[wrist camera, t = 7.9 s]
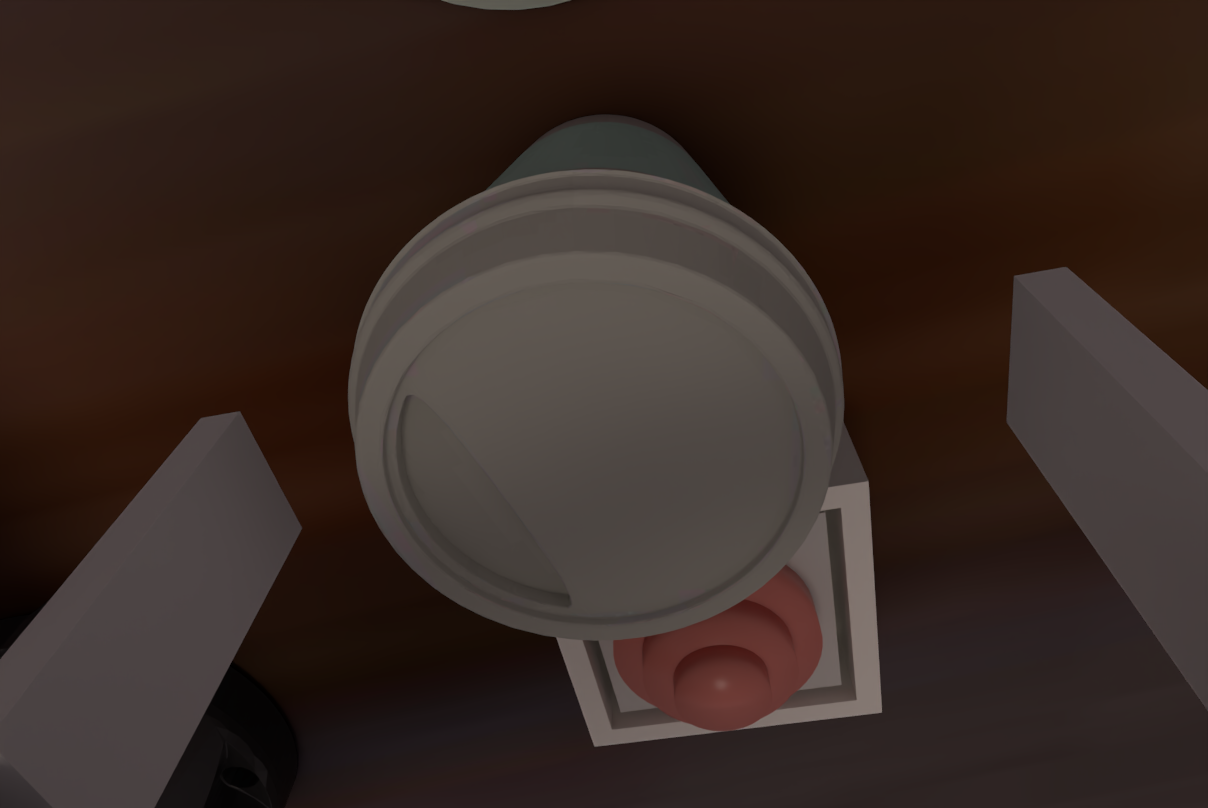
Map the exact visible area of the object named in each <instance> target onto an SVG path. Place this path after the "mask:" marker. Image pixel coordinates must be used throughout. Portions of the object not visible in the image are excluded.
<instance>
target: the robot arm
mask: <svg viewBox="0 0 1208 808" xmlns="http://www.w3.org/2000/svg"><path fill="white" fill-rule="evenodd" d="M1007 423H1008V425H1009V426H1010V428H1011V429H1012V431H1013V432H1014V433H1015V435H1016V436H1017V438H1018V439H1019V441H1020V442H1021V443H1022V445H1023V446H1024V448H1025V449H1026V451H1027V452H1028V454H1029V455H1030V456H1031V458H1032V459H1033V461H1034V462H1035V464H1036V465H1037V466H1038V468H1039V469H1040V471H1041V472H1042V474H1043V475H1044V477H1045V478H1046V479H1047V481H1048V482H1049V484H1050V485H1051V487H1052V488H1053V489H1054V491H1055V492H1056V494H1057V495H1058V497H1059V498H1060V499H1061V501H1062V502H1063V504H1064V505H1065V507H1066V508H1067V510H1068V511H1069V512H1070V514H1071V515H1072V517H1073V518H1074V520H1075V521H1076V522H1077V524H1078V525H1079V527H1080V528H1081V530H1082V531H1083V532H1084V534H1085V535H1086V537H1087V538H1088V540H1089V541H1090V543H1091V544H1092V545H1093V547H1094V548H1095V550H1096V551H1097V553H1098V554H1099V555H1100V557H1101V558H1102V560H1103V561H1104V563H1105V564H1106V565H1107V567H1108V568H1109V570H1110V571H1111V573H1112V574H1113V576H1114V577H1115V578H1116V580H1117V581H1118V583H1119V584H1120V586H1121V587H1122V588H1123V590H1124V591H1125V593H1126V594H1127V596H1128V597H1129V599H1130V600H1131V601H1132V603H1133V604H1134V606H1135V607H1136V609H1137V610H1138V611H1139V613H1140V614H1141V616H1142V617H1143V619H1144V620H1145V621H1146V623H1147V624H1148V626H1149V627H1150V629H1151V630H1152V632H1153V633H1154V634H1155V636H1156V637H1157V639H1158V640H1159V642H1160V643H1161V644H1162V646H1163V647H1164V649H1165V650H1166V652H1167V653H1168V654H1169V656H1170V657H1171V659H1172V660H1173V662H1174V663H1175V665H1176V666H1177V667H1178V669H1179V670H1180V672H1181V673H1182V675H1183V676H1184V677H1185V679H1186V680H1187V682H1188V683H1189V685H1190V686H1191V687H1192V689H1193V690H1194V692H1195V693H1196V695H1197V696H1198V698H1199V699H1200V700H1201V702H1202V703H1203V705H1204V706H1205V708H1206V709H1207V710H1208V390H1207V389H1206V388H1205V387H1203V386H1202V385H1201V384H1200V383H1199V382H1198V381H1197V380H1195V379H1194V378H1193V377H1192V376H1191V375H1190V374H1188V373H1187V372H1186V371H1185V370H1184V369H1183V368H1182V367H1180V366H1179V365H1178V364H1177V363H1176V362H1175V361H1174V360H1172V359H1171V358H1170V357H1169V356H1168V355H1167V354H1166V353H1164V352H1163V351H1162V350H1161V349H1160V348H1159V347H1158V346H1156V345H1155V344H1154V343H1153V342H1152V341H1151V340H1150V339H1148V338H1147V337H1146V336H1145V335H1144V334H1143V333H1142V332H1140V331H1139V330H1138V329H1137V328H1136V327H1135V326H1133V325H1132V324H1131V323H1130V322H1129V321H1128V320H1127V319H1125V318H1124V317H1123V316H1122V315H1121V314H1120V313H1119V312H1117V311H1116V310H1115V309H1114V308H1113V307H1112V306H1111V305H1109V304H1108V303H1107V302H1106V301H1105V300H1104V299H1103V298H1101V297H1100V296H1099V295H1098V294H1097V293H1096V292H1095V291H1093V290H1092V289H1091V288H1090V287H1089V286H1088V285H1087V284H1085V283H1084V282H1083V281H1082V280H1081V279H1080V278H1079V277H1077V276H1076V275H1075V274H1074V273H1073V272H1072V271H1070V270H1069V269H1068V268H1067V267H1063V268H1057V269H1051V270H1046V271H1040V272H1034V273H1028V274H1023V275H1017V276H1014V287H1013V306H1012V326H1011V346H1010V365H1009V385H1008V404H1007ZM301 530H302V527H301V525H300V523H299V521H298V520H297V518H296V516H295V514H294V512H293V510H292V508H291V506H290V505H289V503H288V501H287V499H286V497H285V495H284V493H283V491H282V490H281V488H280V486H279V484H278V482H277V480H276V478H275V476H274V475H273V473H272V471H271V469H270V467H269V465H268V463H267V461H266V459H265V458H264V456H263V454H262V452H261V450H260V448H259V446H258V444H257V443H256V441H255V439H254V437H253V435H252V433H251V431H250V429H249V428H248V426H247V424H246V422H245V420H244V418H243V416H242V414H241V413H240V411H239V412H233V413H228V414H222V415H216V416H210V417H205V418H201V419H200V420H199V421H198V422H197V423H196V425H195V426H194V427H193V428H192V429H191V431H190V432H189V433H188V434H187V435H186V437H185V438H184V439H183V440H182V441H181V443H180V444H179V445H178V446H177V447H176V449H175V450H174V451H173V452H172V453H171V455H170V456H169V457H168V458H167V459H166V461H165V462H164V463H163V464H162V465H161V467H160V468H159V469H158V470H157V471H156V473H155V474H154V475H153V476H152V477H151V479H150V480H149V481H148V482H147V483H146V485H145V486H144V487H143V488H142V489H141V491H140V492H139V493H138V494H137V495H136V497H135V498H134V499H133V500H132V501H131V503H130V504H129V505H128V506H127V507H126V509H125V510H124V511H123V512H122V513H121V515H120V516H119V517H118V518H117V519H116V521H115V522H114V523H113V524H112V525H111V527H110V528H109V529H108V530H107V531H106V533H105V534H104V535H103V536H102V537H101V539H100V540H99V541H98V542H97V543H96V545H95V546H94V547H93V548H92V549H91V551H90V552H89V553H88V554H87V555H86V557H85V558H84V559H83V560H82V562H81V563H80V564H79V565H78V566H77V568H76V569H75V570H74V571H73V572H72V574H71V575H70V576H69V577H68V578H67V580H66V581H65V582H64V583H63V584H62V586H61V587H60V588H59V589H58V590H57V592H56V593H55V594H54V595H53V596H52V597H51V598H50V599H49V600H48V601H47V602H45V603H44V604H43V605H42V606H40V607H39V608H38V609H37V610H36V611H34V612H33V613H32V614H31V615H23V616H16V617H11V618H6V619H3V620H0V808H284V807H285V805H286V802H287V799H288V797H289V794H290V791H291V789H292V786H293V783H294V781H295V777H296V773H297V751H296V746H295V742H294V739H293V737H292V734H291V732H290V730H289V727H288V725H287V724H286V722H285V720H284V719H283V717H282V715H281V714H280V713H279V711H278V710H277V708H276V707H275V706H274V705H273V704H272V702H271V701H270V700H269V699H268V698H267V697H266V696H265V695H264V694H263V693H262V692H261V691H260V690H259V689H258V688H257V687H256V686H255V685H254V684H253V683H252V682H250V681H249V680H248V679H247V678H246V677H244V676H243V675H242V674H240V673H239V672H238V671H236V670H235V669H233V668H232V667H231V666H230V664H231V662H232V660H233V658H234V656H235V654H236V653H237V651H238V649H239V647H240V645H241V643H242V641H243V639H244V637H245V636H246V634H247V632H248V630H249V628H250V626H251V624H252V622H253V620H254V618H255V617H256V615H257V613H258V611H259V609H260V607H261V605H262V603H263V601H264V600H265V598H266V596H267V594H268V592H269V590H270V588H271V586H272V584H273V583H274V581H275V579H276V577H277V575H278V573H279V571H280V569H281V567H282V566H283V564H284V562H285V560H286V558H287V556H288V554H289V552H290V550H291V548H292V547H293V545H294V543H295V541H296V539H297V537H298V535H299V533H300V531H301Z"/></svg>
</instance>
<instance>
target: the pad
mask: <svg viewBox="0 0 1208 808" xmlns="http://www.w3.org/2000/svg"><path fill="white" fill-rule="evenodd" d="M442 1H445V2H449V3H452V4H457V5H463V6H469V7H475V8H481V9H495V10H522V9H530V8H538V7H546V6H552V5H555V4H559V3H563V2H566V1H570V0H442Z"/></svg>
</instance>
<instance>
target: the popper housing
mask: <svg viewBox="0 0 1208 808" xmlns="http://www.w3.org/2000/svg"><path fill="white" fill-rule="evenodd" d="M823 510H824V511H825V517H826V528H827V538H828V549H829V559H830V570H831V580H832V591H833V601H834V612H835V622H836V632H837V643H838V653H839V664H840V674H841V685H837V686H829V687H821V688H813V689H805V690H798V691H796V692H795V693H794V694H792V695H791V696H790V697H789V699H788V700H787V701H786V702H785V703H784V704H783V705H782V706H781V707H779V708H778V709H777V710H775V711H774V712H772V713H771V714H769V715H767V716H765V717H763V718H761V719H759V720H758V721H757V722H755V723H753V724H751V725H749V726H747V727H744V728H740V729H748V728H756V727H765V726H773V725H781V724H790V723H798V722H807V721H815V720H823V719H832V718H840V717H849V716H857V715H865V714H874V713H882V704H881V687H880V669H879V652H878V635H877V618H876V601H875V584H874V566H873V549H872V532H871V515H870V498H869V481H868V479H867V476H866V474H865V472H864V469H863V467H862V465H861V462H860V460H859V457H858V455H857V453H856V450H855V448H854V446H853V443H852V441H851V439H850V436H849V434H848V431H847V429H846V427H845V424H844V422H843V427H842V433H841V438H840V443H839V448H838V451H837V455H836V458H835V461H834V464H833V467H832V470H831V475H830V480H829V486H828V490H827V493H826V496H825V500H824V503H823V505H822V508H821V510H820V511H823ZM556 638H557V641H558V644H559V647H560V650H561V653H562V655H563V658H564V661H565V664H566V667H567V670H568V673H569V675H570V678H571V681H572V684H573V687H574V690H575V693H576V695H577V698H578V701H579V704H580V707H581V710H582V712H583V715H584V718H585V721H586V724H587V727H588V730H589V732H590V735H591V738H592V741H593V744H594V747H597V746H605V745H614V744H622V743H630V742H639V741H647V740H656V739H664V738H672V737H681V736H689V735H698V734H706V733H714V732H723V731H711V730H706V729H702V728H699V727H696V726H694V725H692V724H688V723H685V722H682V721H679V720H677V719H674V718H672V717H670V716H669V715H667V714H665V713H664V712H662V711H661V710H660V709H659V708H652V709H644V710H636V711H628V712H621V711H620V708H619V705H618V702H617V698H616V695H615V692H614V689H613V686H612V682H611V679H610V676H609V673H608V670H607V666H606V663H605V660H604V657H603V654H602V651H601V647H600V644H599V641H593V640H575V639H565V638H558V637H556ZM736 730H739V729H736Z"/></svg>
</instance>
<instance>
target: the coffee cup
mask: <svg viewBox="0 0 1208 808" xmlns="http://www.w3.org/2000/svg"><path fill="white" fill-rule="evenodd" d="M348 407H349V419H350V425H351V431H352V435H353V440H354V444H355V454H356V464H357V471H358V475H359V479H360V483H361V487H362V490H363V494H364V496H365V499H366V501H367V504H368V506H369V509H370V511H371V513H372V515H373V517H374V519H375V521H376V523H377V524H378V526H379V528H380V530H381V531H382V533H383V534H384V536H385V537H386V538H387V540H388V541H389V543H390V544H391V545H392V547H393V548H394V549H395V551H396V552H397V553H398V554H399V555H400V557H401V558H402V559H403V560H404V561H405V562H406V563H407V564H408V565H409V566H410V567H411V568H412V569H413V570H414V571H415V572H416V573H417V574H418V575H419V576H421V577H422V578H423V579H424V580H425V581H426V582H427V583H429V584H430V585H431V586H432V587H434V588H435V589H436V590H438V591H439V592H441V593H442V594H444V595H445V596H447V597H448V598H450V599H451V600H453V601H455V602H456V603H458V604H459V605H461V606H463V607H465V608H467V609H469V610H471V611H473V612H475V613H477V614H479V615H481V616H483V617H486V618H488V619H491V620H493V621H496V622H498V623H501V624H504V625H507V626H509V627H512V628H516V629H520V630H524V631H528V632H532V633H536V634H540V635H544V636H551V637H558V638H565V639H575V640H593V641H598V640H622V639H631V638H640V637H647V636H652V635H657V634H662V633H666V632H670V631H674V630H677V629H681V628H684V627H687V626H690V625H692V624H695V623H698V622H701V621H703V620H706V619H709V618H711V617H713V616H715V615H717V614H719V613H721V612H723V611H725V610H727V609H729V608H731V607H732V606H734V605H736V604H737V603H739V602H741V601H742V600H744V599H745V598H747V597H748V596H750V595H751V594H753V593H754V592H755V591H757V590H758V589H760V588H761V587H762V586H763V585H765V584H766V583H767V582H768V581H769V580H770V579H771V578H773V577H774V576H775V575H776V574H777V573H778V572H779V571H780V570H781V569H782V568H783V567H784V566H785V565H786V564H787V563H788V562H789V561H790V559H791V558H792V557H793V555H794V554H795V553H796V551H797V550H798V549H799V548H800V546H801V545H802V544H803V542H804V541H805V539H806V538H807V536H808V534H809V532H810V531H811V529H812V527H813V525H814V523H815V522H816V520H817V518H818V515H819V513H820V510H821V508H822V505H823V503H824V500H825V496H826V493H827V490H828V486H829V480H830V475H831V470H832V467H833V464H834V461H835V458H836V455H837V451H838V448H839V443H840V438H841V433H842V427H843V418H844V391H843V379H842V365H841V357H840V351H839V346H838V341H837V337H836V333H835V330H834V327H833V324H832V321H831V318H830V316H829V313H828V311H827V308H826V306H825V304H824V302H823V300H822V298H821V296H820V294H819V292H818V290H817V289H816V287H815V285H814V284H813V282H812V280H811V279H810V277H809V276H808V274H807V273H806V272H805V270H804V269H803V268H802V266H801V265H800V264H799V262H798V261H797V260H796V259H795V257H794V256H793V255H792V254H791V253H790V252H789V251H788V250H787V249H786V248H785V247H784V246H783V245H782V244H781V243H780V242H779V241H778V240H777V239H776V238H775V237H774V236H773V235H772V234H771V233H770V232H768V231H767V230H766V229H765V228H764V227H762V226H761V225H760V224H758V223H757V222H756V221H754V220H753V219H752V218H750V217H749V216H747V215H746V214H744V213H743V212H741V211H740V210H738V209H736V208H735V207H733V206H731V205H730V204H729V203H728V201H727V200H726V199H725V198H724V196H723V195H722V194H721V193H720V192H719V190H718V189H717V188H716V187H715V185H714V184H713V183H712V182H711V180H710V179H709V178H708V177H707V175H706V174H705V173H704V172H703V171H702V169H701V168H700V167H699V166H698V165H697V163H696V162H695V161H694V160H693V159H692V158H691V156H690V155H689V154H688V153H687V152H686V151H685V149H684V148H683V147H682V146H681V145H680V144H679V143H678V142H677V141H675V140H674V139H673V138H672V137H671V136H669V135H668V134H667V133H665V132H664V131H662V130H660V129H659V128H657V127H655V126H653V125H651V124H649V123H646V122H644V121H641V120H638V119H635V118H631V117H627V116H621V115H609V114H604V115H591V116H585V117H581V118H577V119H574V120H571V121H568V122H565V123H563V124H561V125H559V126H557V127H555V128H553V129H552V130H550V131H548V132H547V133H545V134H544V135H543V136H541V137H540V138H539V139H538V140H537V141H535V142H534V143H533V144H532V145H531V146H530V147H529V148H528V149H527V150H526V151H525V152H524V153H523V154H521V155H520V156H519V157H518V158H517V159H516V160H515V161H514V162H513V163H512V164H511V165H510V166H509V167H508V168H507V169H506V170H505V171H504V172H503V173H502V174H501V175H500V176H499V177H498V178H497V179H496V180H495V181H494V182H493V183H492V184H491V185H490V186H489V187H488V188H487V189H486V190H485V191H484V192H482V193H479V194H477V195H475V196H473V197H471V198H469V199H467V200H465V201H463V202H462V203H460V204H458V205H456V206H454V207H453V208H451V209H450V210H448V211H446V212H445V213H444V214H442V215H441V216H439V217H438V218H436V219H435V220H434V221H432V222H431V223H430V224H429V225H427V226H426V227H425V228H424V229H422V230H421V231H420V232H419V233H418V234H417V235H416V236H415V237H414V238H413V239H412V240H410V241H409V242H408V244H407V245H406V246H405V247H404V248H403V249H402V250H401V251H400V252H399V253H398V255H397V256H396V257H395V258H394V259H393V261H392V262H391V263H390V265H389V266H388V267H387V269H386V270H385V272H384V273H383V275H382V276H381V278H380V280H379V281H378V283H377V285H376V286H375V288H374V290H373V292H372V294H371V296H370V298H369V300H368V302H367V305H366V307H365V310H364V312H363V315H362V318H361V321H360V324H359V328H358V331H357V336H356V340H355V346H354V352H353V355H352V361H351V367H350V373H349V382H348Z"/></svg>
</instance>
